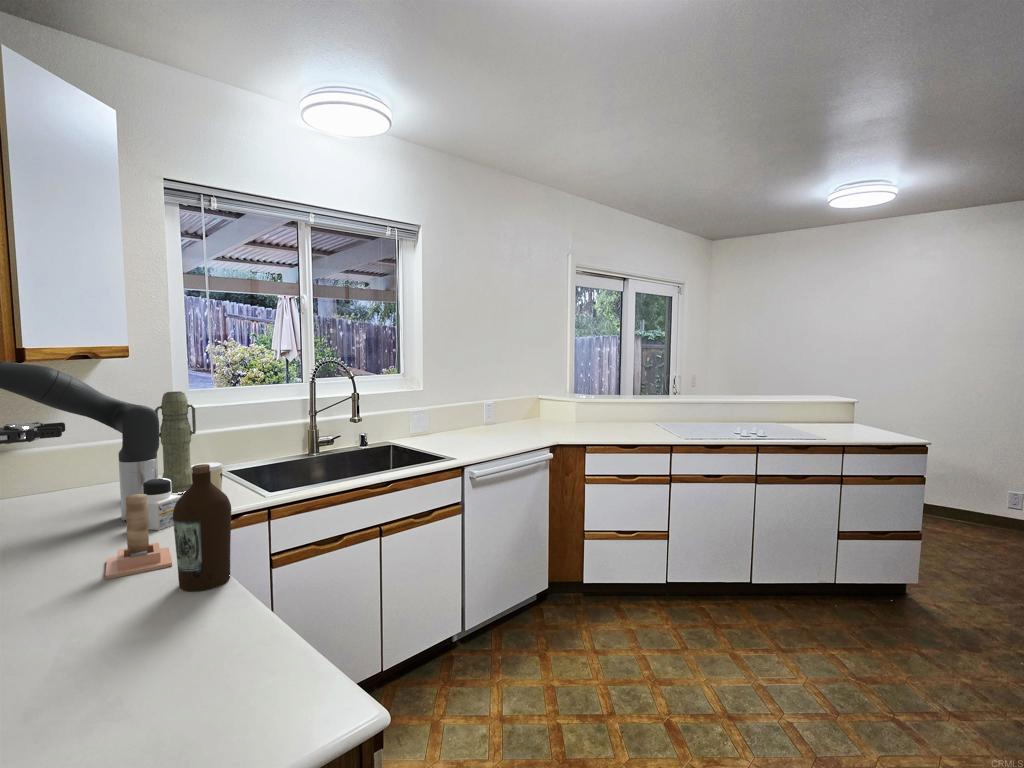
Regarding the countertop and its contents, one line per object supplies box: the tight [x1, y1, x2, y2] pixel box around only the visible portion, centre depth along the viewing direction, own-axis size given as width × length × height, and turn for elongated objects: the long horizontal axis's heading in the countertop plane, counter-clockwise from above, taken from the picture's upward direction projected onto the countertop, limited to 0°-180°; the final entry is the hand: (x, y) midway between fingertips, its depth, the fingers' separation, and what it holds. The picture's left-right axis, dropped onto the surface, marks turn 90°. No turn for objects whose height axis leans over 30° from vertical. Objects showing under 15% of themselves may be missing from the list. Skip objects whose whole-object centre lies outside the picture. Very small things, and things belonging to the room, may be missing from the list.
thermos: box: [153, 391, 197, 493], centre depth 182 cm, size 9×12×35 cm
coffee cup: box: [190, 461, 224, 492], centre depth 171 cm, size 9×9×12 cm
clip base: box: [105, 541, 173, 580], centre depth 121 cm, size 12×12×4 cm
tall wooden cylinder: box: [126, 494, 150, 557], centre depth 120 cm, size 4×4×15 cm
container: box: [143, 477, 181, 531], centre depth 148 cm, size 8×8×13 cm
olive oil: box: [172, 464, 232, 592], centre depth 111 cm, size 11×11×25 cm
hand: (63, 429), depth 119 cm, fingers open, 8 cm apart
